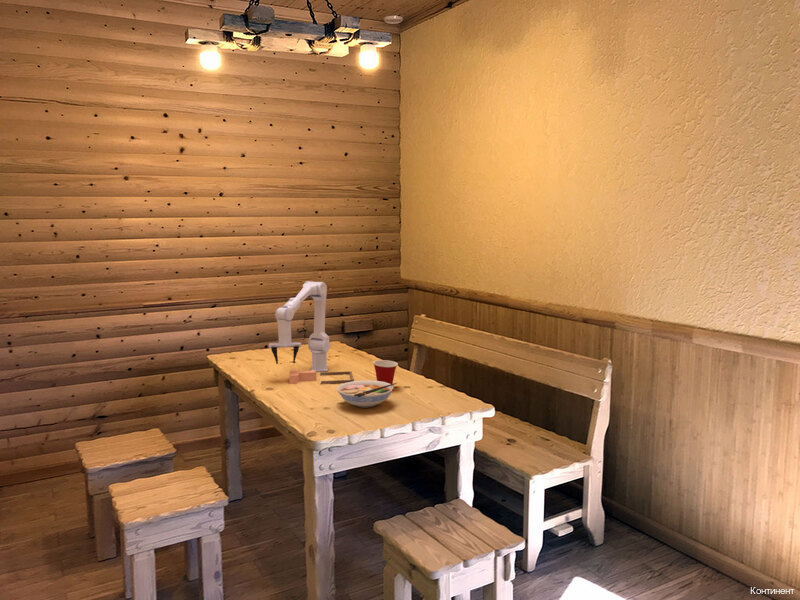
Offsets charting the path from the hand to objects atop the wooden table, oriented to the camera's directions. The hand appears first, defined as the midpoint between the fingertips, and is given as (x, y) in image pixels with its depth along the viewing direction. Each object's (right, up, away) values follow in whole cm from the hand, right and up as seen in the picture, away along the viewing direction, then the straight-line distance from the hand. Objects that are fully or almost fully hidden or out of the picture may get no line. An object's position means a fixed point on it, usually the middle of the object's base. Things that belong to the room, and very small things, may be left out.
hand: (285, 363), depth 301 cm
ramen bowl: (+38, -14, -36) cm, 54 cm away
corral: (+22, -8, +6) cm, 24 cm away
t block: (+7, -8, +4) cm, 12 cm away
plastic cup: (+46, -10, -12) cm, 49 cm away
